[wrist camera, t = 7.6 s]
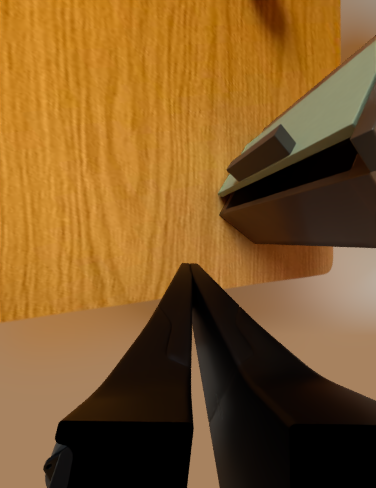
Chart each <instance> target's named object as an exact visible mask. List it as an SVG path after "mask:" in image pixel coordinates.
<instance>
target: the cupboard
mask: <svg viewBox="0 0 376 488" xmlns="http://www.w3.org/2000/svg"><path fill="white" fill-rule="evenodd" d="M375 40H376V35H375V36H374V37H373V38H372V39H371V40H369V41H368V42H367V43H366V44H365V45H364V46H362V47H361V48H360V49H359V50H357V51H356V52H355V53H354V54H353V55H351V56H350V57H349V58H348V59H347V60H345V61H344V62H343V63H342V64H341V65H339V66H338V67H337V68H336V69H335V70H333V71H332V72H331V73H330V74H329V75H328V76H326V77H325V78H324V79H323V80H322V81H320V82H319V83H318V84H317V85H316V86H314V87H313V88H312V89H311V90H310V91H308V92H307V93H306V94H305V95H304V96H302V97H301V98H300V99H299V100H298V101H296V102H295V103H294V104H293V105H292V106H290V107H289V108H288V109H287V110H286V111H284V112H283V113H282V114H281V115H280V116H278V117H277V118H276V119H275V120H274V121H272V122H271V123H270V124H269V125H268V126H266V127H265V128H264V130H263V132H264V131H265V130H266V129H267V128H269V127H270V126H271V125H272V124H273V123H275V122H276V121H277V120H278V119H280V118H281V117H282V116H283V115H284V114H286V113H287V112H288V111H289V110H291V109H292V108H293V107H294V106H296V105H297V104H298V103H299V102H300V101H302V100H303V99H304V98H305V97H307V96H308V95H309V94H310V93H311V92H313V91H314V90H315V89H316V88H318V87H319V86H320V85H321V84H322V83H324V82H325V81H326V80H327V79H329V78H330V77H331V76H332V75H334V74H335V73H336V72H337V71H338V70H340V69H341V68H342V67H343V66H345V65H346V64H347V63H348V62H349V61H351V60H352V59H353V58H354V57H356V56H357V55H358V54H359V53H361V52H362V51H363V50H364V49H365V48H367V47H368V46H369V45H370V44H372V43H373V42H374V41H375ZM219 215H220V216H221V217H222V218H224V219H225V220H226V221H227V222H229V223H230V224H231V225H232V226H234V227H235V228H236V229H237V230H239V231H240V232H241V233H243V234H244V235H245V236H246V237H248V238H249V239H250V240H251V241H252V242H254V243H255V244H278V245H306V246H333V247H360V248H361V247H362V248H376V82H375V85H374V87H373V89H372V91H371V94H370V96H369V98H368V100H367V103H366V105H365V107H364V109H363V112H362V114H361V116H360V118H359V120H358V123H357V125H356V127H355V129H354V132H353V134H352V136H351V137H350V138H348V139H346V140H343V141H341V142H339V143H337V144H335V145H333V146H331V147H328V148H326V149H324V150H322V151H320V152H318V153H316V154H313V155H311V156H309V157H307V158H305V159H303V160H300V161H298V162H296V163H294V164H292V165H290V166H288V167H285V168H283V169H281V170H279V171H277V172H275V173H273V174H270V175H268V176H266V177H264V178H262V179H260V180H258V181H255V182H253V183H251V184H249V185H247V186H245V187H243V188H240V189H238V190H236V191H234V192H232V193H231V195H230V197H229V199H228V200H227V202H226V204H225V206H224V207H223V209H222V211H221V213H220V214H219Z"/></svg>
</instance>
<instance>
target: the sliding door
mask: <svg viewBox="0 0 376 488" xmlns="http://www.w3.org/2000/svg"><path fill="white" fill-rule="evenodd" d="M375 82H376V40H375V41H374V42H373V43H372V44H370V45H369V46H368V47H367V48H365V49H364V50H363V51H362V52H361V53H359V54H358V55H357V56H356V57H354V58H353V59H352V60H351V61H349V62H348V63H347V64H346V65H345V66H343V67H342V68H341V69H340V70H338V71H337V72H336V73H335V74H334V75H332V76H331V77H330V78H329V79H327V80H326V81H325V82H324V83H322V84H321V85H320V86H319V87H318V88H316V89H315V90H314V91H313V92H311V93H310V94H309V95H308V96H307V97H305V98H304V99H303V100H302V101H300V102H299V103H298V104H297V105H296V106H294V107H293V108H292V109H291V110H289V111H288V112H287V113H286V114H284V115H283V116H282V117H281V118H280V119H278V120H277V121H276V122H275V123H273V124H272V125H271V126H270V127H269V128H267V129H266V130H265V131H264V132H262V133H261V134H260V135H259V136H258V137H256V138H255V139H254V140H253V141H251V142H250V143H249V144H248V145H246V147H245V148H244V150H243V152H242V153H241V155H240V156H238V157H237V158H236V159H235V160H233V161H232V162H231V163H230V165H229V167H228V168H227V171H228V172H229V173H230V174H229V175H228V177H227V179H226V181H225V182H224V184H223V186H222V187H221V189H220V191H219V193H218V195H219V196H221V197H223V196H225V195H227V194H230V193H232V192H234V191H236V190H238V189H240V188H243V187H245V186H247V185H249V184H251V183H253V182H255V181H258V180H260V179H262V178H264V177H266V176H268V175H270V174H273V173H275V172H277V171H279V170H281V169H283V168H285V167H288V166H290V165H292V164H294V163H296V162H298V161H300V160H303V159H305V158H307V157H309V156H311V155H313V154H316V153H318V152H320V151H322V150H324V149H326V148H328V147H331V146H333V145H335V144H337V143H339V142H341V141H343V140H346V139H348V138H350V137H351V136H352V134H353V132H354V129H355V127H356V125H357V123H358V120H359V118H360V116H361V114H362V112H363V109H364V107H365V105H366V103H367V100H368V98H369V96H370V94H371V91H372V89H373V87H374V85H375Z"/></svg>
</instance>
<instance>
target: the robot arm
mask: <svg viewBox="0 0 376 488" xmlns="http://www.w3.org/2000/svg"><path fill="white" fill-rule="evenodd" d="M192 326H193V331H194V338H195V344H196V349H197V355H198V361H199V367H200V373H201V379H202V384H203V391H204V397H205V403H206V408H207V414H208V420H209V426H210V433H211V438H212V444H213V450H214V456H215V462H216V468H217V474H218V480H219V486H220V488H376V401H375V400H373V399H370V398H368V397H366V396H364V395H361V394H359V393H357V392H354V391H352V390H349V389H347V388H345V387H343V386H340V385H338V384H336V383H334V382H331V381H329V380H328V379H326V378H324V377H322V376H321V375H319V374H318V373H316V372H315V371H313V370H312V369H311V368H309V367H308V366H306V365H305V364H304V363H303V362H302V361H301V360H299V359H298V358H297V357H296V356H295V355H293V354H292V353H291V352H290V351H289V350H288V349H286V348H285V347H284V346H283V345H282V344H281V343H279V342H278V341H277V340H276V339H275V338H274V337H272V336H271V335H270V334H269V333H268V332H267V331H266V330H264V329H263V328H262V327H261V326H260V325H259V324H257V322H255V321H254V320H253V319H252V318H251V317H250V316H249V315H248V314H247V313H246V312H245V311H244V310H243V309H242V308H241V307H239V305H238V304H237V303H236V302H235V301H234V300H233V299H232V298H231V297H230V296H229V295H228V294H227V293H226V292H225V291H224V290H223V289H222V288H221V287H220V286H219V285H218V284H217V283H216V282H215V281H214V280H213V279H212V278H211V277H210V276H209V275H208V274H207V273H206V272H205V271H204V270H203V269H202V268H201V267H200V266H199V265H198V264H194V263H191V264H189V263H182V264H181V266H180V267H179V269H178V271H177V273H176V274H175V276H174V278H173V280H172V282H171V283H170V285H169V287H168V289H167V290H166V292H165V294H164V296H163V298H162V299H161V301H160V303H159V305H158V307H157V308H156V310H155V312H154V313H153V315H152V317H151V318H150V320H149V322H148V323H147V325H146V326H145V328H144V329H143V331H142V332H141V334H140V335H139V336H138V338H137V339H136V340H135V342H134V343H133V344H132V346H131V347H130V348H129V350H128V351H127V352H126V354H125V355H124V356H123V358H122V359H121V360H120V362H119V363H118V364H117V366H116V367H115V368H114V370H113V371H112V372H111V374H110V375H109V376H108V377H107V379H106V380H105V381H104V382H103V383H102V385H101V386H100V387H99V388H98V389H97V390H96V391H95V392H94V393H93V394H92V395H91V396H90V397H89V398H88V399H87V400H85V401H84V402H83V403H82V404H81V405H79V406H78V407H77V408H76V409H75V410H74V411H72V412H71V413H70V414H69V415H67V416H66V417H65V418H64V419H63V420H62V421H60V422H59V424H58V427H57V431H56V436H55V440H56V442H57V443H58V444H62V445H66V447H65V448H63V449H62V450H60V451H59V452H57V453H56V454H54V455H52V456H51V457H49V458H48V459H47V460H46V462H45V464H44V467H43V470H44V472H45V474H46V476H47V477H48V479H49V481H50V485H49V488H187V482H188V473H189V465H190V455H191V446H192V438H193V429H194V428H193V414H192V399H191V349H192V348H191V347H192Z"/></svg>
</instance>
